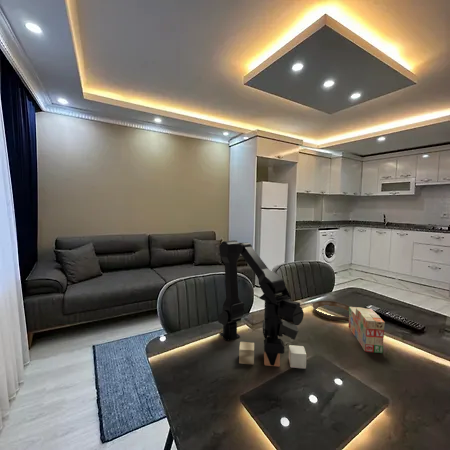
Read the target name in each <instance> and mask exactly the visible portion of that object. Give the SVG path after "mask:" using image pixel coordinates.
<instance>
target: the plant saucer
mask: <svg viewBox="0 0 450 450" xmlns="http://www.w3.org/2000/svg"><path fill="white" fill-rule="evenodd" d="M324 305H329V306H335V307H340V308H343V309H345V310H347V311H349V307H352V306H351V305H348V304H346V303H342V302H338V301H333V300H318V301H315V302H313V303H312V305H311V306H312V308H313V310H314V311H315V312H316V313H317V314H318V315H319V316H321V317H322V316H323V317H322V318H325V317H326V318H325V319H328V318H329V320H331V319H333V320H332V321H338V320H345V321H349V317H338V316H331V315H327V314H324V313H322V312H319V311H317V310H316V309H317V308H318V307H320V306H324Z"/></svg>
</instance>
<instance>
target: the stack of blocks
mask: <svg viewBox="0 0 450 450" xmlns="http://www.w3.org/2000/svg"><path fill="white" fill-rule="evenodd" d="M385 324H386V322H385V321H384V320H383V319H382V318H381V317H380V315H379V314H377V313H376V312H375V311H374V310H373V309H372V308H364V307H359V306H358V307H357V306H351V307H349V320H348V327H349V329H350V331H351V332H352V334H353V335H354V337H355V338H356V340H357V342H358V343H359V345H361V347H362V349H363V351H364V352H367V353H375V354H376V353H377V354H383V352H384V337H385Z"/></svg>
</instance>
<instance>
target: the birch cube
mask: <svg viewBox="0 0 450 450" xmlns="http://www.w3.org/2000/svg"><path fill="white" fill-rule="evenodd" d="M238 349H239V350H238V358H239V359H238V364H244V365H253V366H254V364H255V342H249V341H248V342H246V341H240V342H239V348H238Z"/></svg>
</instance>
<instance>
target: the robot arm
mask: <svg viewBox="0 0 450 450" xmlns="http://www.w3.org/2000/svg"><path fill="white" fill-rule="evenodd" d="M218 249H219V250H218V251H219V254H220V258H221V259H222V261H223V263H224V274H225V275H224V277H225V278H224V279H225V300H224V303H223V304H222V311H221V313H220V314H219V315H218V316H217V320H218V321H217V322H218V323H219V324H221V325H222V332H219V334H218V335H219V336H220V337H221V338H222V339H224V340H225V341H226V342H227V341H232V340H235V339H239V338H241V336H240V335H239V334H238V322H241V320H242V318H243V316H244V313H245V312H246V311H245V302H244V301H242V300H241V299H240V297H239V282H238V279H239V278H238V261H239V259H240V256H241V257H242V258H243V259H244V260H245V262H246V263H247V265H248V266H249V267H250V269H251V270H252V271H253V273H254V275H255V276H256V278H257V279H258V285H259V288H260V289H261V291H262V293H263V294H262V295H260V296H259V299H260V300H262V301H264V307H263V309H264V311H263V312H264V313H263V320H262V321H261V322H262V323H261V324H262V325H261V326H262V327H261V328H262V334H263V337H264V339H263V353H264V352H266V355H267V357H268V360H269V362H270V365H272V366H271V367H275V366H274V364H275V361H276V358H277V355H278V353H279V354H280V355H282V354H285V344H284V341H283V340H282V339H281V337H283V336H286V337H288V338H291V340H296V338H297V336H298V333H299V328H298V326H299V325H301V323H302V322H303V319H304V316H305V313H304V310H303V307H302V306H301V303H300V302H298V301H294V300H292V297H291V295H290V292H289V290H288V289H287V287H286V283H285V281H284V279H283V278H282V277H281V276H280V275H278V274H277V273H276V272H275V271H272V270H271V269H270V268H269V267H268V266H267V264H266V263H265V262H264V261H263V259H262V258H261V257H260V256H259V254H258V253H257V252H256V250H255V249H254V248H253V245H252V243H250V242H238V240H226V241H225V240H223V241H221V243H219V247H218ZM279 337H280V338H279Z"/></svg>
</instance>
